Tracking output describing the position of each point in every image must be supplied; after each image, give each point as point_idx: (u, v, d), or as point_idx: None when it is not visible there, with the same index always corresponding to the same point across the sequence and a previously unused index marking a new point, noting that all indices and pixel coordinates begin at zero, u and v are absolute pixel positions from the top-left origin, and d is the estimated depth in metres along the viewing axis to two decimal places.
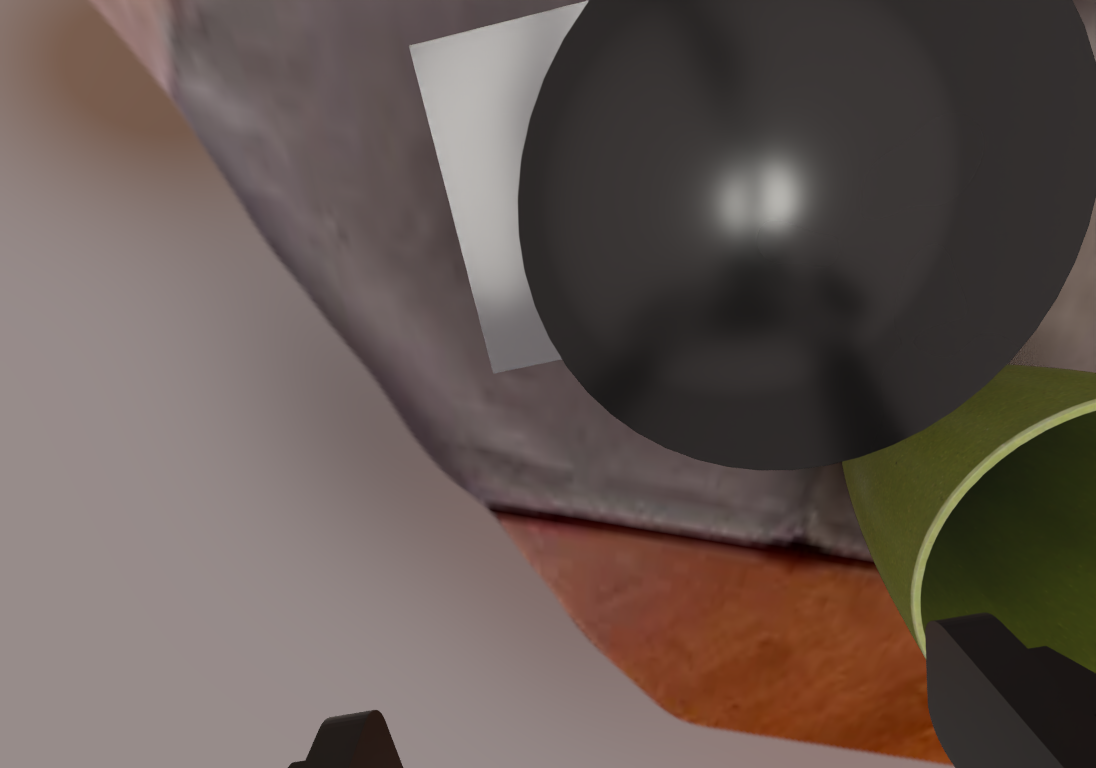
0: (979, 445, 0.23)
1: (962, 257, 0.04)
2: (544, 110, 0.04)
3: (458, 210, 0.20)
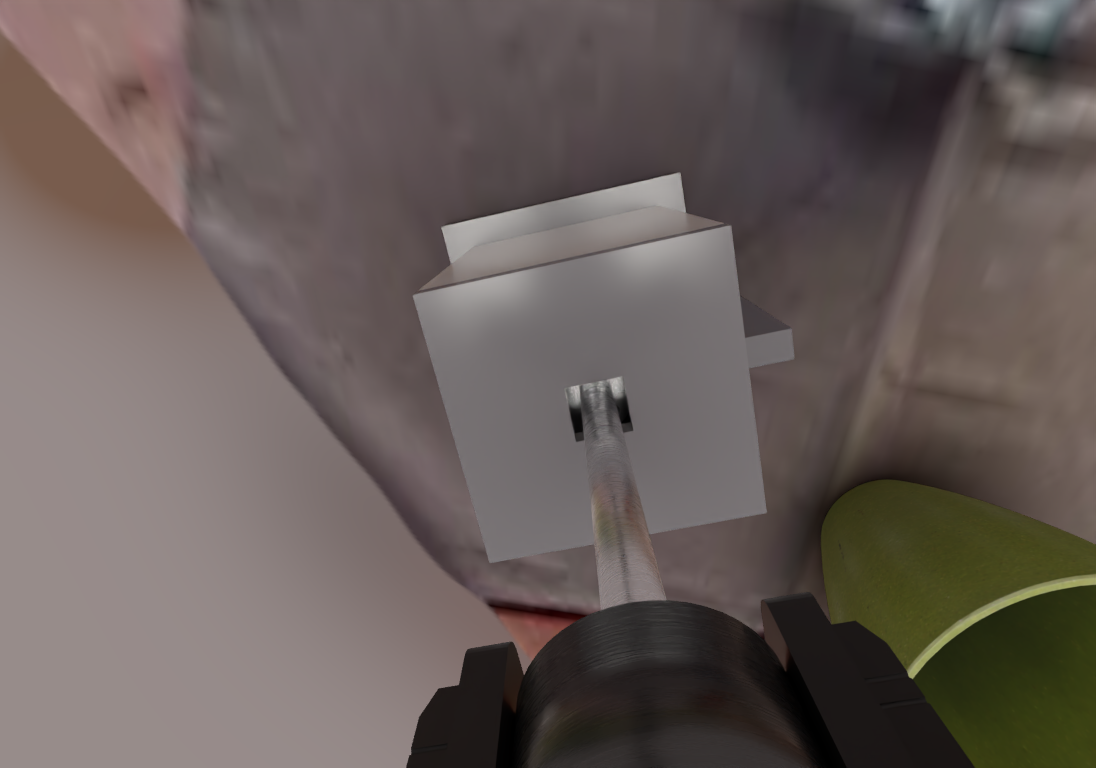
0: (940, 614, 0.25)
1: None
2: None
3: (457, 428, 0.21)
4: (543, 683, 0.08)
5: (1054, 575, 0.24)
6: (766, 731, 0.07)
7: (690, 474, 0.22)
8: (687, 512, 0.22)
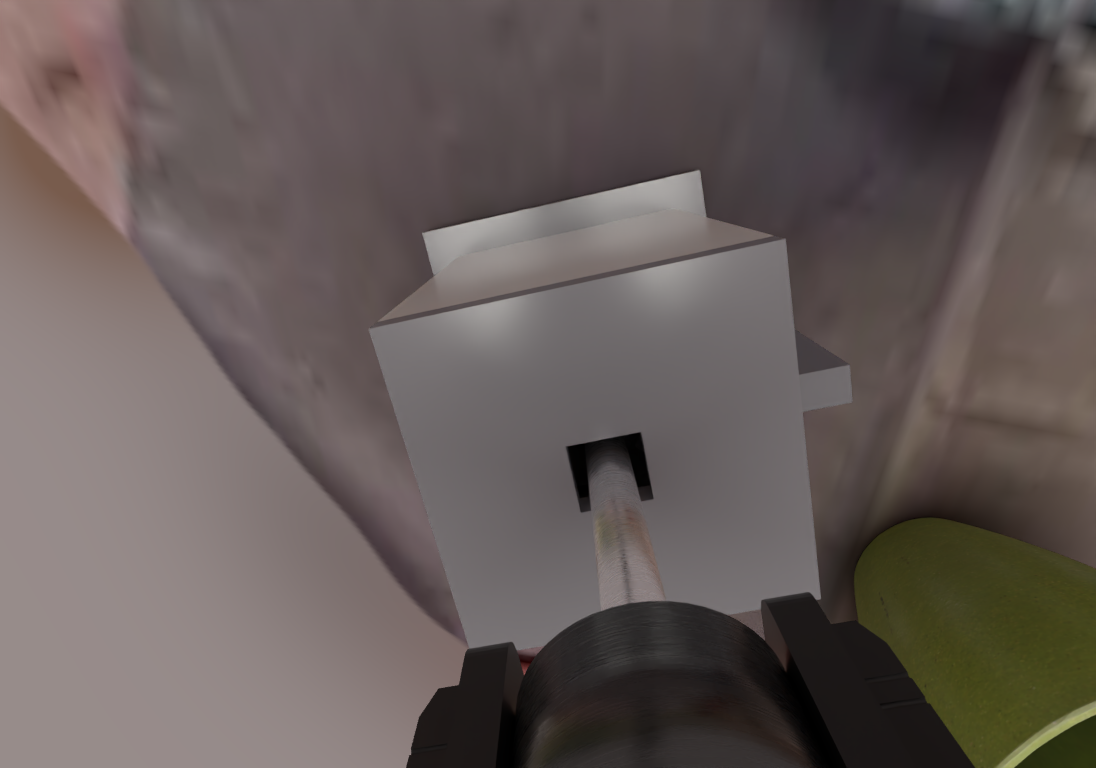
0: (1025, 710, 0.20)
1: None
2: None
3: (429, 496, 0.17)
4: (543, 684, 0.08)
5: None
6: (766, 733, 0.07)
7: (725, 552, 0.17)
8: (720, 598, 0.18)
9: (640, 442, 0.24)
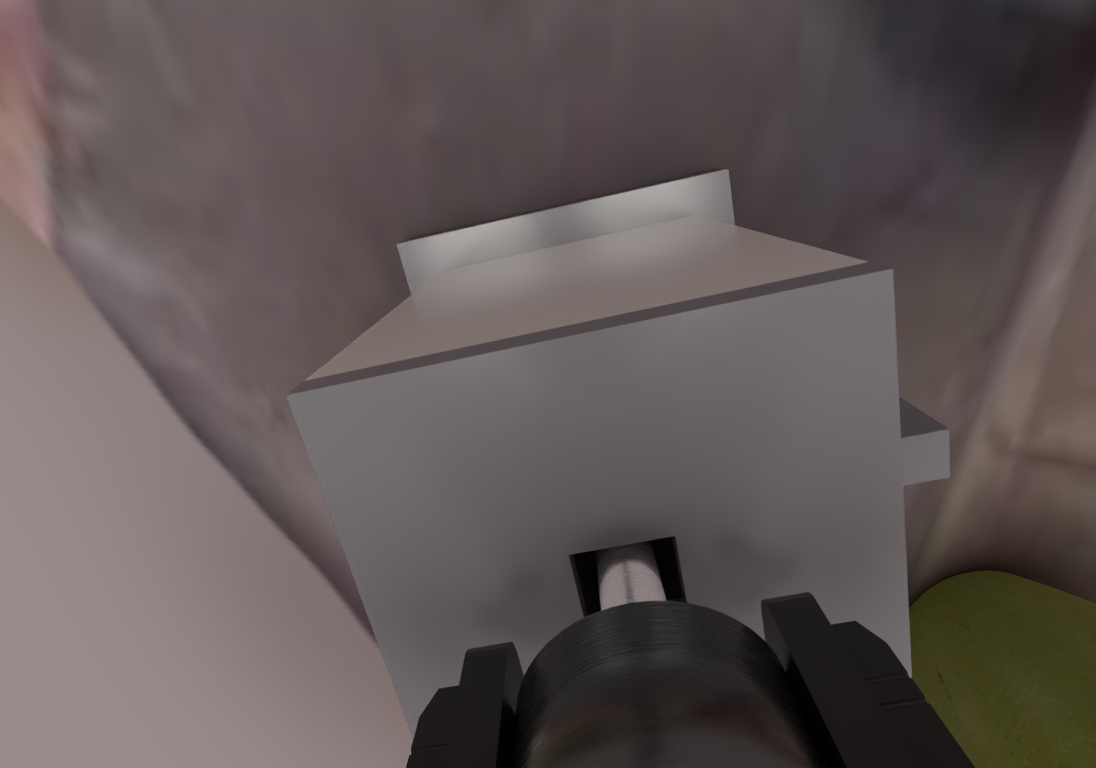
0: None
1: None
2: None
3: (380, 619, 0.12)
4: (543, 684, 0.08)
5: None
6: (766, 733, 0.07)
7: None
8: None
9: None
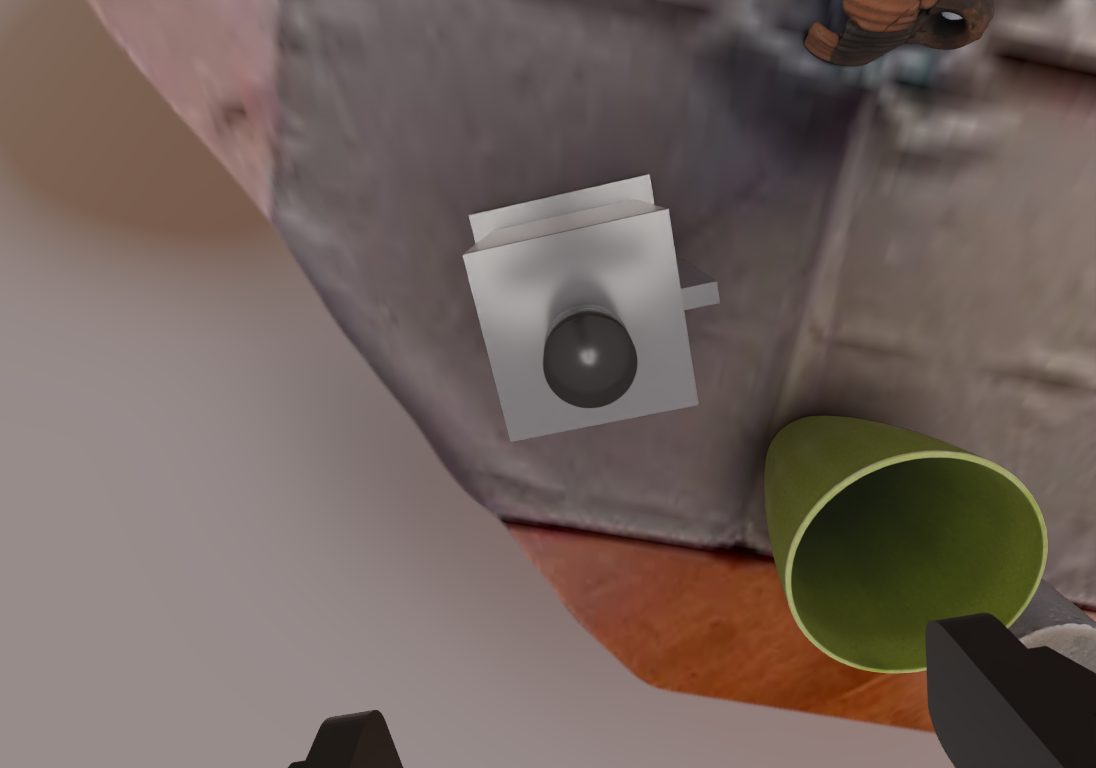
0: (825, 484, 0.36)
1: (617, 371, 0.26)
2: (547, 348, 0.26)
3: (490, 345, 0.32)
4: (553, 323, 0.28)
5: (900, 453, 0.34)
6: (609, 316, 0.27)
7: (646, 377, 0.32)
8: (644, 404, 0.33)
9: None
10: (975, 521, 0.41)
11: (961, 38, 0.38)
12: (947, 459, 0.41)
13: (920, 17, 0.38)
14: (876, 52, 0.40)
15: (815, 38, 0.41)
